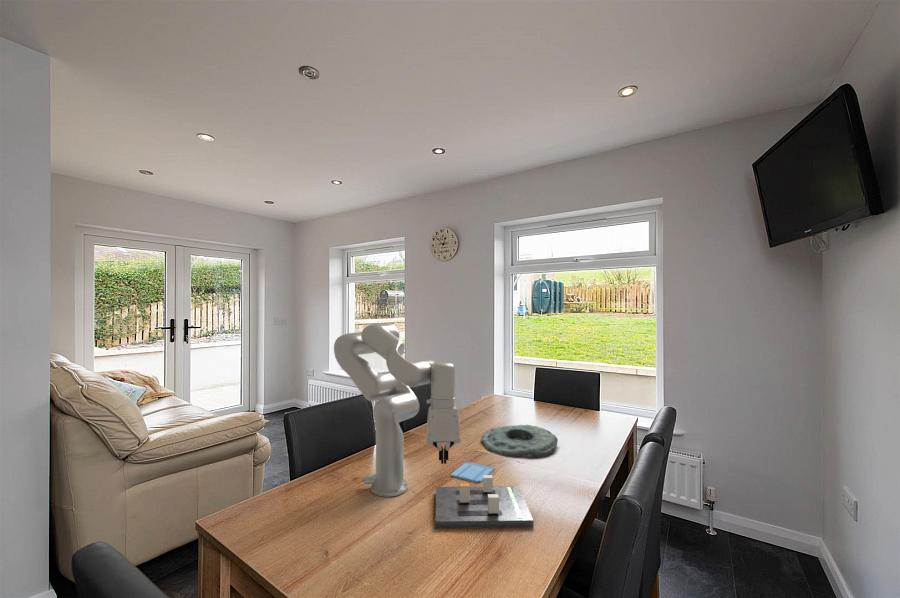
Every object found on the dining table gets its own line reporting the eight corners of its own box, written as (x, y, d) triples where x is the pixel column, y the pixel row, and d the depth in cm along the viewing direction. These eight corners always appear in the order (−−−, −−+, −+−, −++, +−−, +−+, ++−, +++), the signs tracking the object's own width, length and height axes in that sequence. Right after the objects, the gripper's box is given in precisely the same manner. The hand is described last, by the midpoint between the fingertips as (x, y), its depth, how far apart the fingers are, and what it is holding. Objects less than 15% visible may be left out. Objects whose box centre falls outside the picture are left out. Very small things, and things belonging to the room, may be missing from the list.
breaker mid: (459, 502, 121) (459, 486, 121) (459, 499, 123) (459, 483, 123) (469, 502, 121) (469, 486, 121) (469, 499, 123) (469, 483, 123)
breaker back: (483, 492, 127) (483, 477, 127) (482, 489, 129) (482, 475, 129) (492, 492, 127) (492, 477, 128) (491, 489, 129) (491, 475, 130)
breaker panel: (435, 528, 111) (435, 521, 111) (435, 492, 132) (435, 486, 132) (533, 527, 112) (533, 519, 112) (518, 492, 133) (518, 485, 133)
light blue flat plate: (480, 485, 139) (480, 481, 139) (450, 477, 145) (450, 474, 145) (494, 471, 151) (494, 467, 151) (466, 464, 157) (466, 461, 157)
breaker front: (488, 513, 114) (488, 497, 114) (487, 509, 116) (487, 494, 116) (498, 513, 114) (498, 497, 115) (497, 509, 116) (497, 494, 117)
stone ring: (551, 433, 195) (551, 423, 195) (564, 460, 161) (564, 448, 161) (482, 430, 198) (482, 421, 198) (480, 456, 164) (480, 445, 164)
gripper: (418, 406, 118) (419, 467, 117) (468, 405, 118) (468, 466, 118) (419, 400, 125) (420, 458, 125) (466, 399, 126) (466, 457, 125)
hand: (443, 462), depth 121 cm, fingers closed
